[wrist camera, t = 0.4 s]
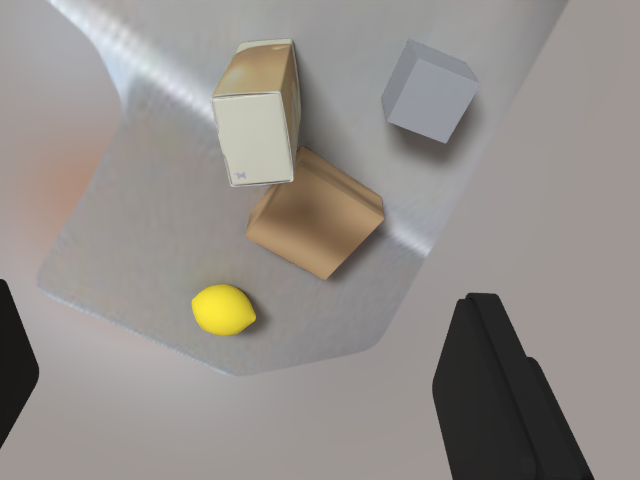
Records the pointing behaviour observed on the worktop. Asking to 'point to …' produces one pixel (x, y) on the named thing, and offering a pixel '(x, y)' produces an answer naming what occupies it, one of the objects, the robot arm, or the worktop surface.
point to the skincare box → (259, 113)
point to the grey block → (428, 91)
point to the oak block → (315, 216)
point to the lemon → (223, 310)
